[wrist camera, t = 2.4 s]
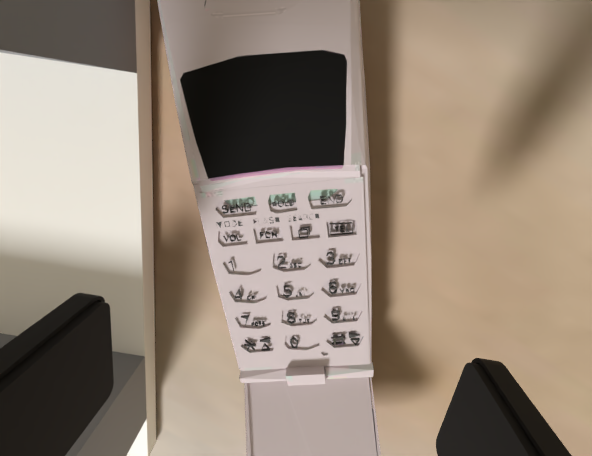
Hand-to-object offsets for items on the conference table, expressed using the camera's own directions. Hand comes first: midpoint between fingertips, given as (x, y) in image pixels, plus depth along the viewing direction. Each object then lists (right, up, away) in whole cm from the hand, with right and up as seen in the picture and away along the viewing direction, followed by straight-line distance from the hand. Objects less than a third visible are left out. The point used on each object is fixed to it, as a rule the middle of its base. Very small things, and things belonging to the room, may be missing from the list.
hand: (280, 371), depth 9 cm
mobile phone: (0, +3, +6) cm, 7 cm away
